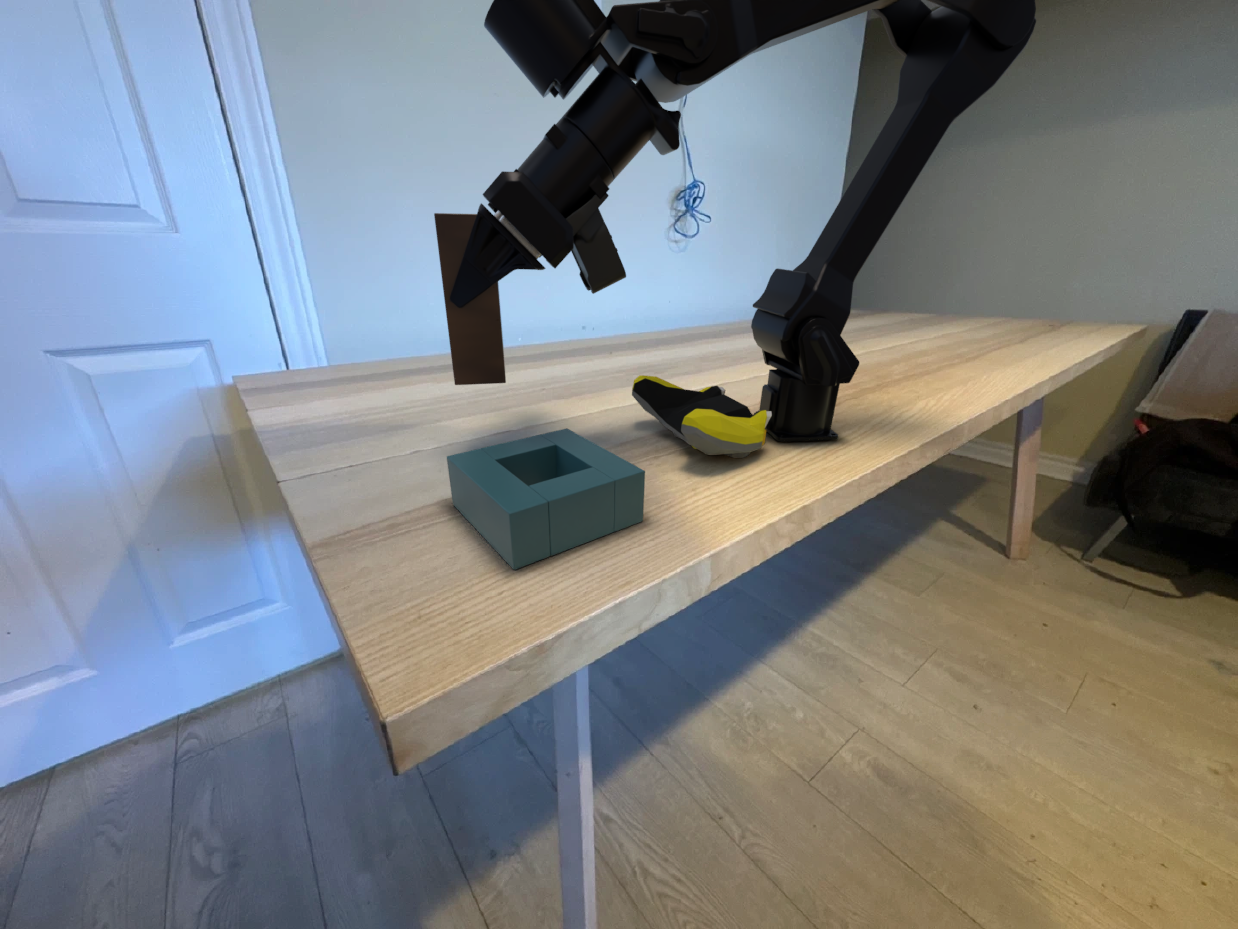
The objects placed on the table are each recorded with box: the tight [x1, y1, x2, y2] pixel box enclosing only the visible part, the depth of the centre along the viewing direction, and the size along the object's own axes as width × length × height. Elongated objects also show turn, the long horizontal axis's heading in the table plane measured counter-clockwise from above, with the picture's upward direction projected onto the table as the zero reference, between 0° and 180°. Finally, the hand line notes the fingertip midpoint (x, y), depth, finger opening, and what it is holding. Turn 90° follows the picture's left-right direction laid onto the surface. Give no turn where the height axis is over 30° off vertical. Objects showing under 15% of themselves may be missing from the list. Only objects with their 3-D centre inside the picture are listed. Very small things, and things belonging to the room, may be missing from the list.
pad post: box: [433, 212, 507, 386], centre depth 43 cm, size 4×4×13 cm
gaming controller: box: [631, 374, 772, 459], centre depth 50 cm, size 15×6×10 cm
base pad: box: [446, 427, 646, 571], centre depth 37 cm, size 10×10×4 cm
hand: (456, 300), depth 42 cm, fingers closed on pad post, 4 cm apart
